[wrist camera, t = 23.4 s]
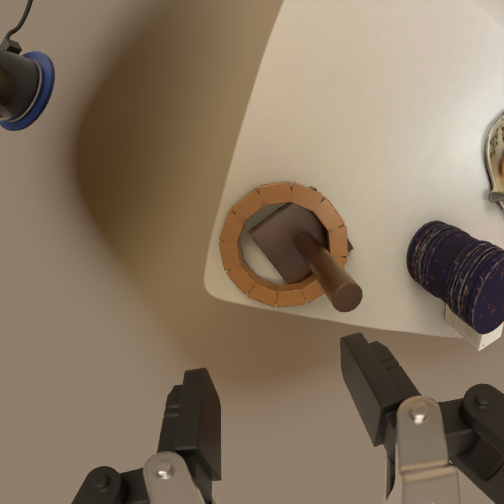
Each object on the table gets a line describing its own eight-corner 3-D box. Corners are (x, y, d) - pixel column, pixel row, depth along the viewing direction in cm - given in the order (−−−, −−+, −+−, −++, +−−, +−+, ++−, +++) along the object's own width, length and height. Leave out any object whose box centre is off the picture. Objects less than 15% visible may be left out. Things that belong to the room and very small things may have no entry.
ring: (200, 233, 34) (195, 238, 33) (294, 157, 30) (295, 157, 29) (273, 318, 37) (272, 326, 35) (366, 254, 33) (370, 260, 31)
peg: (249, 231, 34) (261, 290, 20) (311, 186, 33) (370, 212, 18) (291, 286, 37) (325, 365, 22) (349, 245, 36) (414, 302, 21)
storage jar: (402, 288, 38) (462, 345, 24) (407, 222, 35) (482, 261, 21) (450, 278, 39) (511, 323, 25) (457, 218, 35) (529, 249, 21)
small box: (465, 307, 41) (501, 337, 31) (443, 319, 41) (478, 353, 31) (468, 268, 38) (509, 295, 29) (445, 279, 39) (486, 310, 29)
